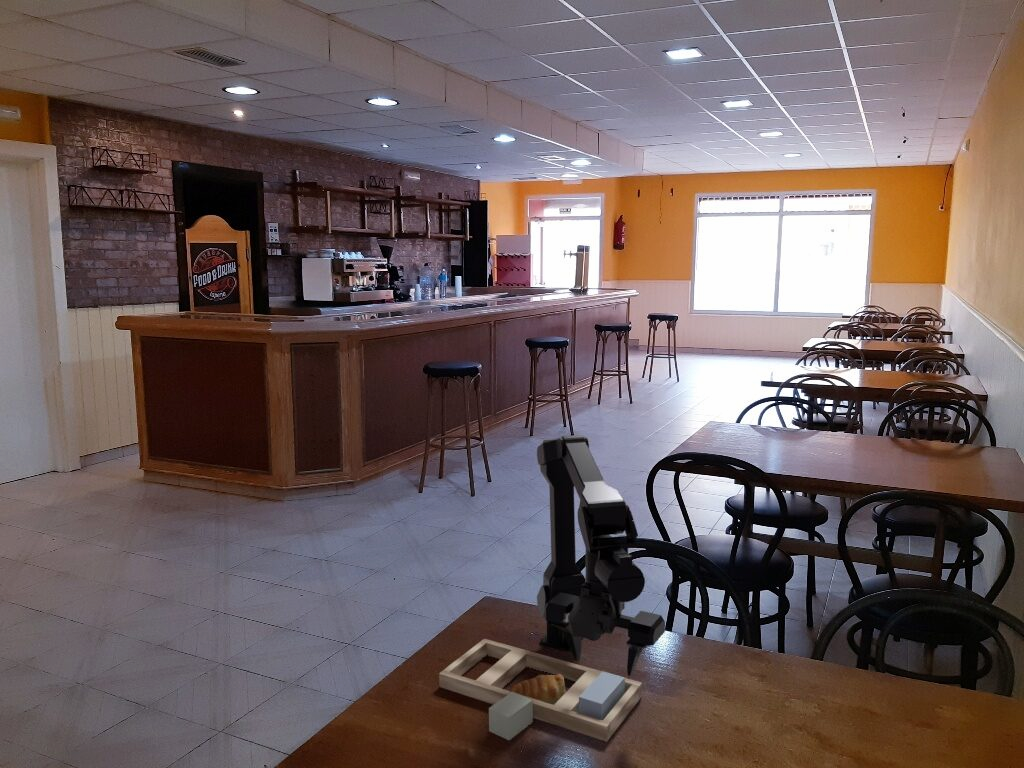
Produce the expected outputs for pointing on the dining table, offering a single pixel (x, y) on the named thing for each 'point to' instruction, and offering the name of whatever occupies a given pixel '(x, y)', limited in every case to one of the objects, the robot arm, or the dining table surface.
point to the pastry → (542, 688)
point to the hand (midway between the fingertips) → (603, 667)
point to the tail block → (510, 715)
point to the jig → (558, 714)
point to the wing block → (602, 695)
